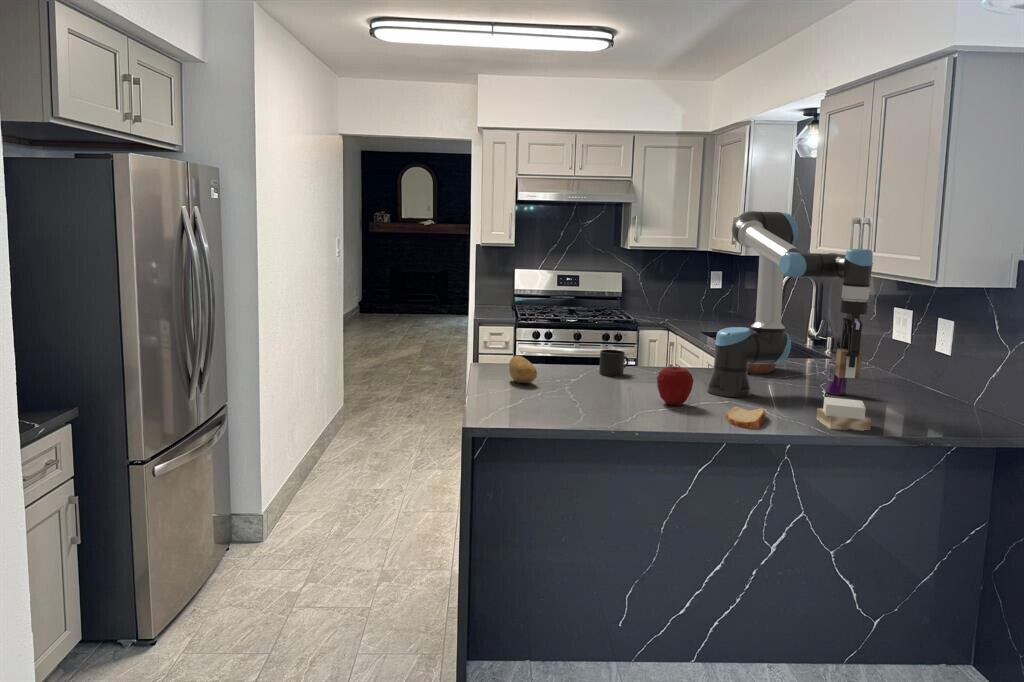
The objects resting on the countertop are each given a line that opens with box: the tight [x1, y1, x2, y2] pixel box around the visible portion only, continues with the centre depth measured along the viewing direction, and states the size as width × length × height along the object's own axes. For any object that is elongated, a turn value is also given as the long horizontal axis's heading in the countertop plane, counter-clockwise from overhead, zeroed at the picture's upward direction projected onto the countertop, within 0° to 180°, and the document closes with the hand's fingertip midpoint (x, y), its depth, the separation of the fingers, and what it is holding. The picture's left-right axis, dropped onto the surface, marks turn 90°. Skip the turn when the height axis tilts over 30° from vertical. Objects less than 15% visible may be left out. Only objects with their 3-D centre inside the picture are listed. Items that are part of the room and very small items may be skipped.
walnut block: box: [835, 348, 863, 380], centre depth 244 cm, size 6×6×8 cm
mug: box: [598, 349, 629, 377], centre depth 314 cm, size 9×12×9 cm
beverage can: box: [824, 359, 848, 396], centre depth 292 cm, size 7×7×12 cm
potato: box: [508, 355, 538, 384], centre depth 290 cm, size 9×16×9 cm, turn 17°
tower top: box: [822, 396, 867, 420], centre depth 246 cm, size 11×11×4 cm
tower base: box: [815, 407, 872, 431], centre depth 246 cm, size 12×12×4 cm
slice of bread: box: [725, 405, 767, 430], centre depth 247 cm, size 18×18×4 cm
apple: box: [656, 365, 694, 407], centre depth 264 cm, size 12×12×13 cm
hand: (847, 375), depth 244 cm, fingers closed on walnut block, 6 cm apart
